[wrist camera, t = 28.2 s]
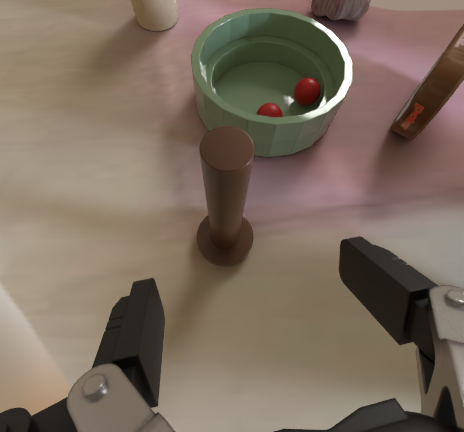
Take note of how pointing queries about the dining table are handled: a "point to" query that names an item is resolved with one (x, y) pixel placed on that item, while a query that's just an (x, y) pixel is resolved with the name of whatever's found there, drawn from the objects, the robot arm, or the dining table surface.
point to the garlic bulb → (340, 9)
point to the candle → (155, 14)
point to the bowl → (269, 77)
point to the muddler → (226, 195)
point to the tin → (433, 90)
